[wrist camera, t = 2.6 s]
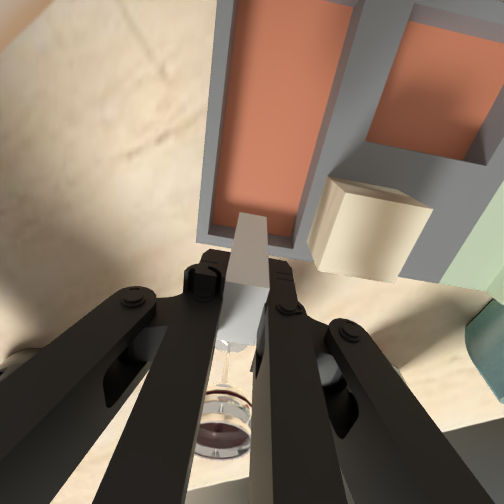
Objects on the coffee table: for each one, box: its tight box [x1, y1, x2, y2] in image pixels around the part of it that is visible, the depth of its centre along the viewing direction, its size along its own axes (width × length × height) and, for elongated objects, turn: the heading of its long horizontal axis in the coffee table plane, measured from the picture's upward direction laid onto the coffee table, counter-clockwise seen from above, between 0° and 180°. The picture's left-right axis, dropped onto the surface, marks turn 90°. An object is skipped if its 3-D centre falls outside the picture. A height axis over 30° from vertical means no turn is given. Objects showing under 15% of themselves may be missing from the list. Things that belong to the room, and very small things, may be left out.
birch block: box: [307, 176, 433, 284], centre depth 20 cm, size 6×6×5 cm
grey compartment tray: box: [196, 0, 504, 305], centre depth 21 cm, size 30×20×5 cm, turn 80°
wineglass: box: [194, 340, 252, 461], centre depth 29 cm, size 7×7×12 cm
